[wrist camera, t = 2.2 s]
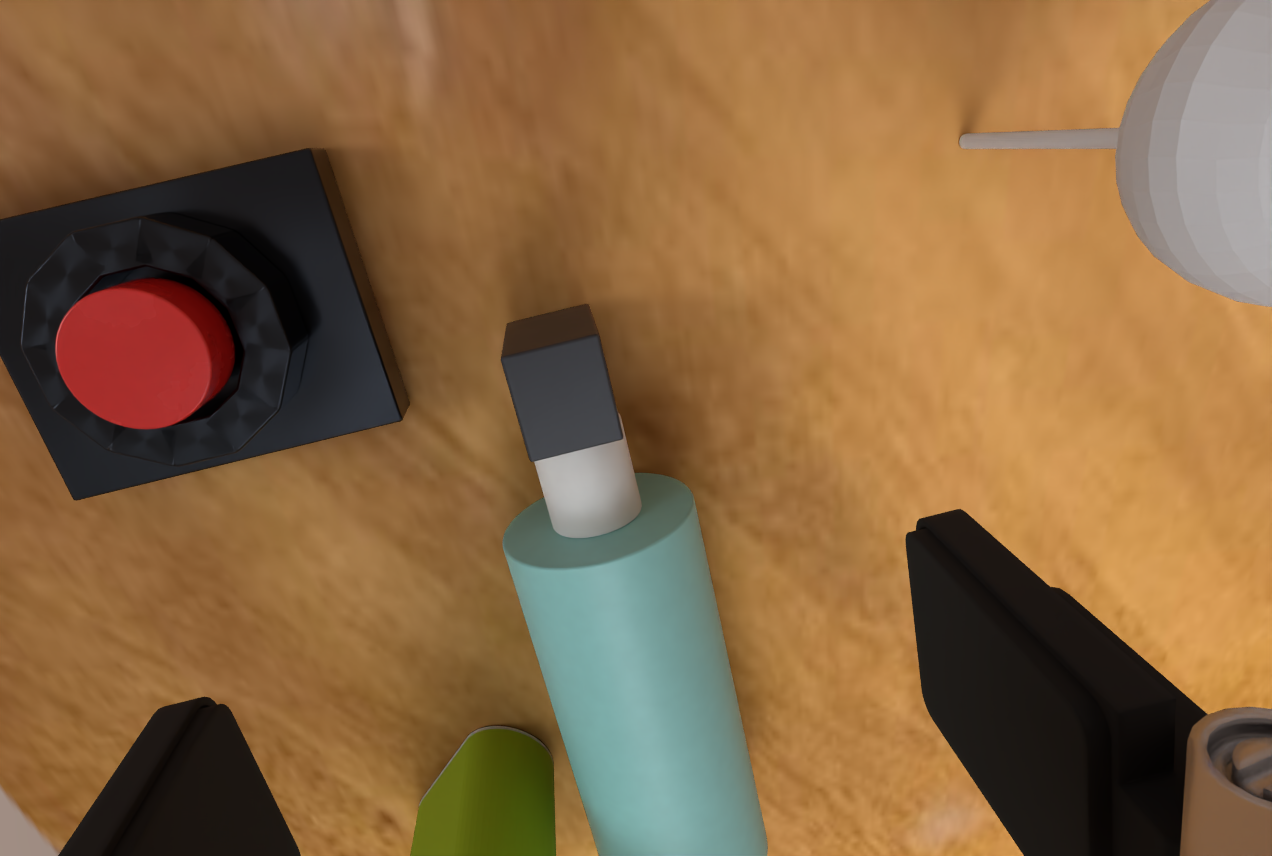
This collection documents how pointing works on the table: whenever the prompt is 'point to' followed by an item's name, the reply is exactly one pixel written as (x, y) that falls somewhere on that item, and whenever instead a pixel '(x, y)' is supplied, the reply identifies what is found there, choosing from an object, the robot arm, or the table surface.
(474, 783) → the vape
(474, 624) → the table surface
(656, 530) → the spray bottle
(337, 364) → the button box
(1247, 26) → the lollipop
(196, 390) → the button
